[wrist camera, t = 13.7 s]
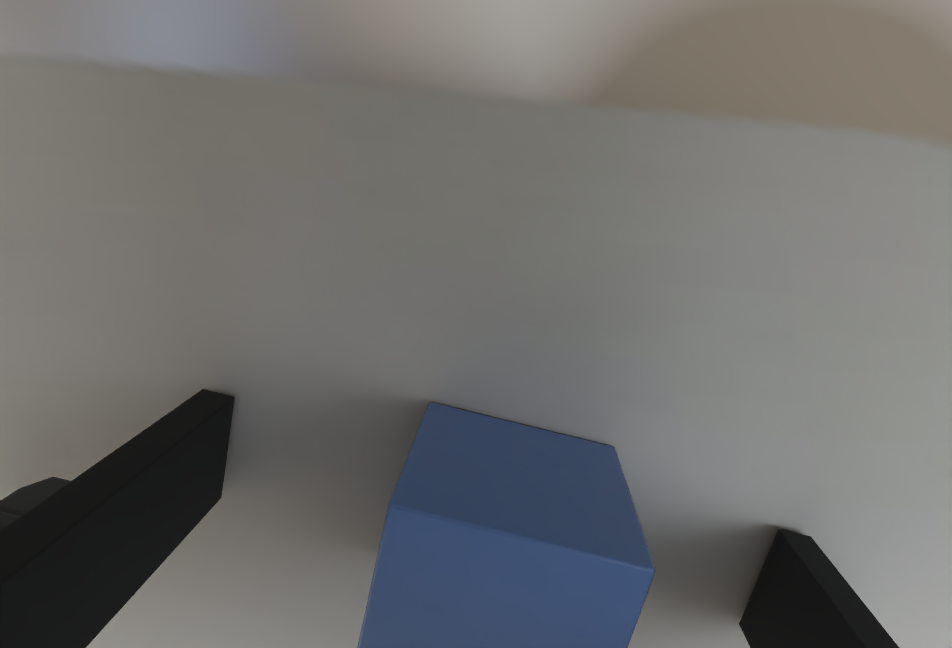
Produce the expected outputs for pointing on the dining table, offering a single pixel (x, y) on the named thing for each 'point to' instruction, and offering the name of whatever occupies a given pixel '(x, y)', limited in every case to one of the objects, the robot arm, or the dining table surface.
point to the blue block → (506, 542)
